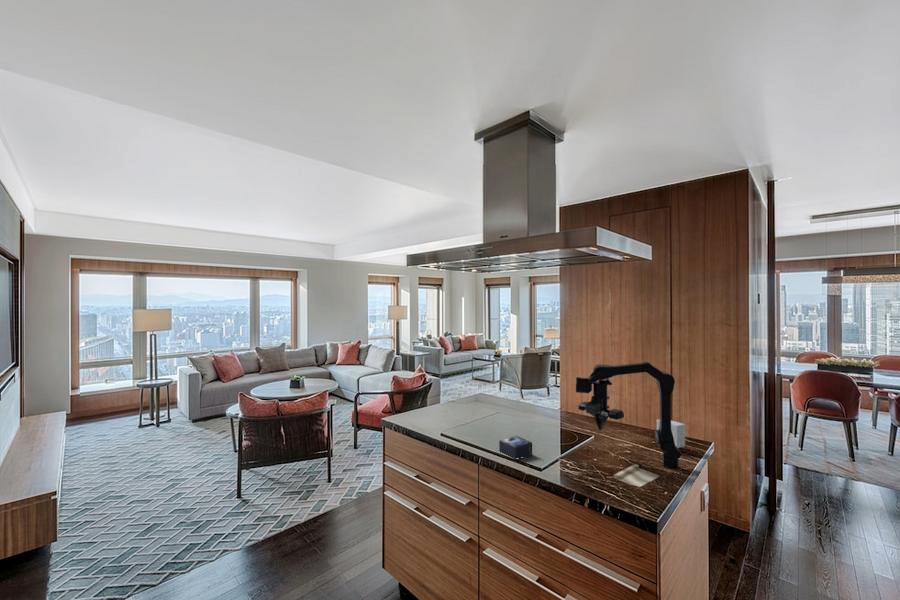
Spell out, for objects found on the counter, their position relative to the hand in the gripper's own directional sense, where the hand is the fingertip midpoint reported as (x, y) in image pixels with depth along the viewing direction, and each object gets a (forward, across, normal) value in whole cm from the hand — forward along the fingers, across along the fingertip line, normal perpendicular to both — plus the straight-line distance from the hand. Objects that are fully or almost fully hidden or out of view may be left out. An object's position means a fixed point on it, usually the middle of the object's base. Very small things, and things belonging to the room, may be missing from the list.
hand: (600, 429), depth 164 cm
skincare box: (+12, +11, +41) cm, 44 cm away
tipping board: (+12, +15, -6) cm, 20 cm away
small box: (+9, -23, -23) cm, 34 cm away
